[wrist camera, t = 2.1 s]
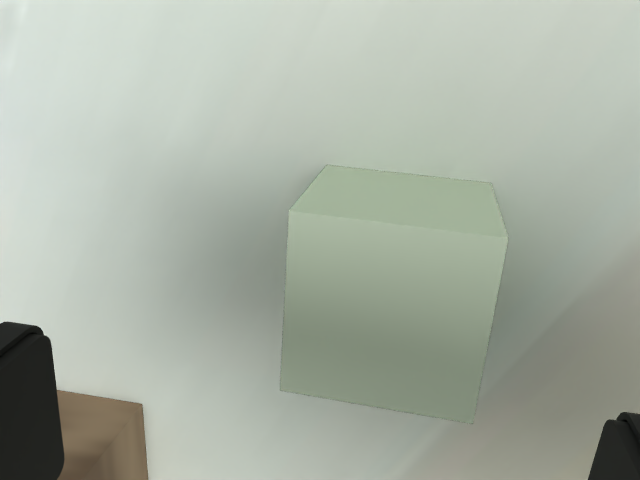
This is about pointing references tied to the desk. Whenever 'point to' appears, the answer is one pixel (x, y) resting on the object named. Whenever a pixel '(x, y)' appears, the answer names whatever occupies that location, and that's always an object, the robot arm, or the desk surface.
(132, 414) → the walnut block
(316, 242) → the sage cube
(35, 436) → the robot arm
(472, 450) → the desk surface
